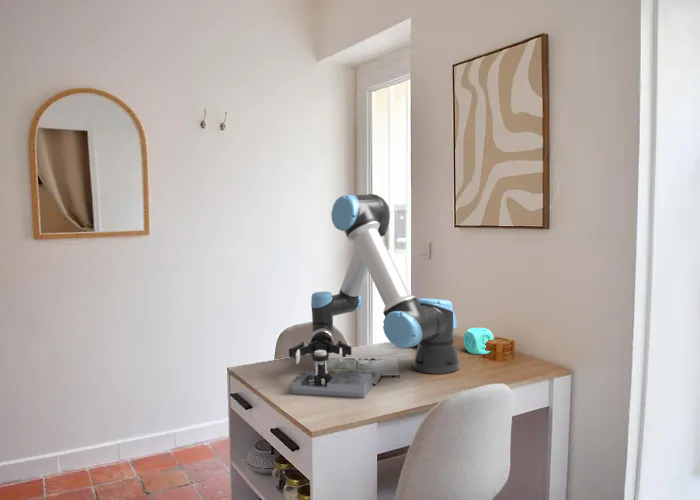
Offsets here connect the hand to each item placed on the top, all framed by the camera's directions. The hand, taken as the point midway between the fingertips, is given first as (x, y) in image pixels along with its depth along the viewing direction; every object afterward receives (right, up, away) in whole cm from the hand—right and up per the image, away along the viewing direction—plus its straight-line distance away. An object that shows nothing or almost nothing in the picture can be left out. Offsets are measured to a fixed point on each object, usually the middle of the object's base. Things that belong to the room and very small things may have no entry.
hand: (319, 358), depth 173 cm
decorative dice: (+57, -4, +31) cm, 65 cm away
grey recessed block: (+4, -8, -5) cm, 11 cm away
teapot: (+42, -3, +40) cm, 58 cm away
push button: (0, -7, -4) cm, 8 cm away
